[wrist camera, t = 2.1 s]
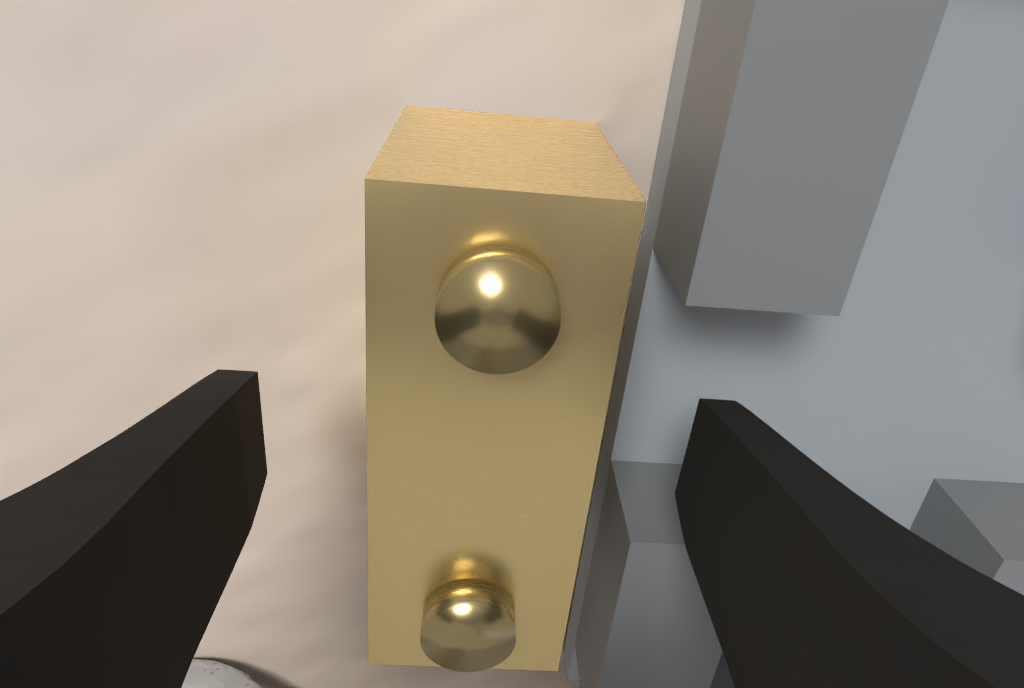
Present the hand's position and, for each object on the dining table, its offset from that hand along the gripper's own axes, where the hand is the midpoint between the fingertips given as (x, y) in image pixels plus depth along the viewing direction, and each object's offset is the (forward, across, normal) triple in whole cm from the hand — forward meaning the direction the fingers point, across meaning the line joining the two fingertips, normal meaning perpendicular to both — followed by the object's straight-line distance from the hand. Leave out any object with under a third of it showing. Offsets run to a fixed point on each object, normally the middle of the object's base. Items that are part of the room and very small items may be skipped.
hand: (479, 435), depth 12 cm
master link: (+4, 0, 0) cm, 4 cm away
